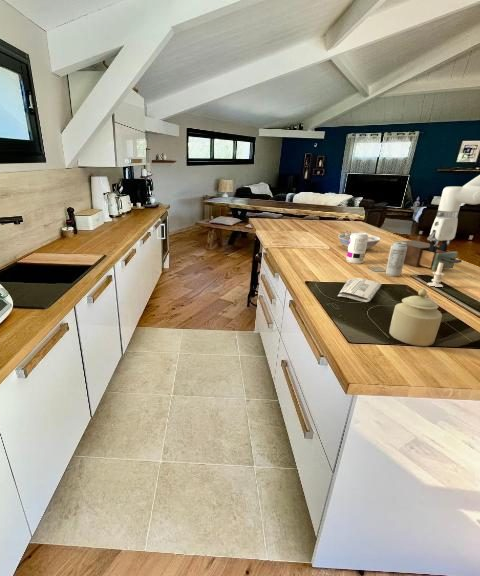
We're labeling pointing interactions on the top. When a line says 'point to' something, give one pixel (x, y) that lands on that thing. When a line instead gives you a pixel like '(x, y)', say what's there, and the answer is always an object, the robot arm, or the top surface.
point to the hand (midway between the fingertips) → (436, 253)
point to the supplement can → (357, 247)
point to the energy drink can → (396, 259)
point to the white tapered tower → (437, 276)
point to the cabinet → (414, 252)
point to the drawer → (438, 259)
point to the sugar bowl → (416, 320)
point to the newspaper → (360, 289)
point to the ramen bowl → (370, 243)
